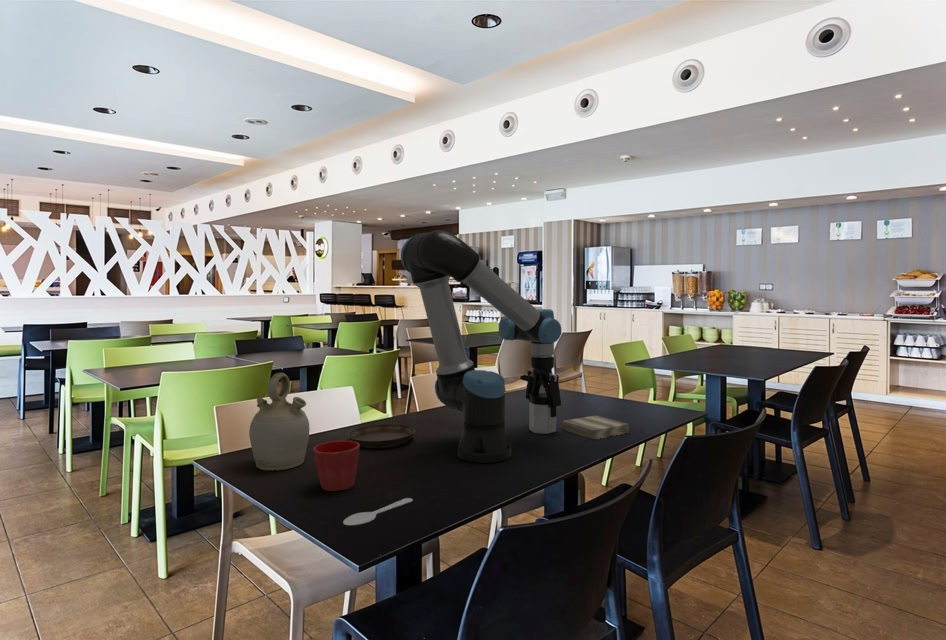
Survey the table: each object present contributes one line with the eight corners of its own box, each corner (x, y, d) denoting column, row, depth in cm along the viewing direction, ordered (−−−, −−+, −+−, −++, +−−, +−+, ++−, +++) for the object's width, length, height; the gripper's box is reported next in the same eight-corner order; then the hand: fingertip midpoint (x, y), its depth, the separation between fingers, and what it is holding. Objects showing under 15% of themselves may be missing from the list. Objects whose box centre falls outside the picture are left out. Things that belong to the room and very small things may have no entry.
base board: (594, 439, 173) (594, 430, 172) (562, 429, 185) (562, 420, 185) (628, 433, 180) (628, 424, 180) (596, 423, 193) (596, 415, 193)
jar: (543, 435, 178) (543, 398, 178) (524, 431, 184) (524, 395, 183) (560, 430, 184) (561, 394, 184) (541, 426, 190) (541, 391, 190)
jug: (322, 460, 154) (320, 370, 152) (276, 476, 140) (274, 378, 139) (284, 452, 161) (282, 367, 160) (237, 467, 148) (234, 374, 147)
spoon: (419, 503, 123) (419, 500, 123) (352, 529, 109) (352, 527, 109) (403, 497, 126) (403, 495, 126) (336, 522, 113) (336, 520, 113)
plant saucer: (335, 448, 166) (335, 437, 166) (368, 431, 186) (367, 421, 186) (398, 453, 160) (397, 442, 160) (425, 435, 180) (425, 425, 180)
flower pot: (305, 486, 133) (304, 446, 133) (345, 475, 141) (344, 437, 141) (328, 497, 126) (327, 455, 125) (369, 485, 134) (368, 445, 133)
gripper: (572, 358, 176) (572, 428, 177) (532, 352, 194) (532, 416, 195) (554, 360, 172) (554, 432, 173) (514, 353, 190) (514, 418, 191)
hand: (542, 423), depth 184 cm, fingers closed on jar, 9 cm apart
